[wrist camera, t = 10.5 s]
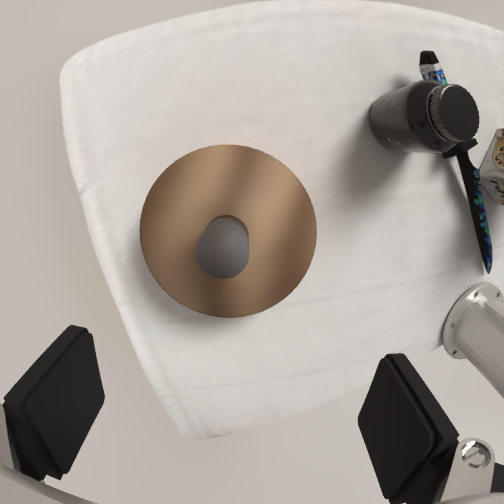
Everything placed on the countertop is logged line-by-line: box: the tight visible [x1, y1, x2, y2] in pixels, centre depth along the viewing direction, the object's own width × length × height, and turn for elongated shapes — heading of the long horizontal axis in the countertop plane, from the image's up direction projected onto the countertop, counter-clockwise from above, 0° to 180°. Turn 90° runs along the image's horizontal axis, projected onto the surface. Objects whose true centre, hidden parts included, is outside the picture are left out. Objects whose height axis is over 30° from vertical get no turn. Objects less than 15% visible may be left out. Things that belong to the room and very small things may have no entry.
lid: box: [140, 145, 317, 318], centre depth 24 cm, size 15×15×6 cm
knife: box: [419, 51, 492, 274], centre depth 29 cm, size 31×3×4 cm, turn 28°
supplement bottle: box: [370, 80, 479, 153], centre depth 24 cm, size 7×7×12 cm
